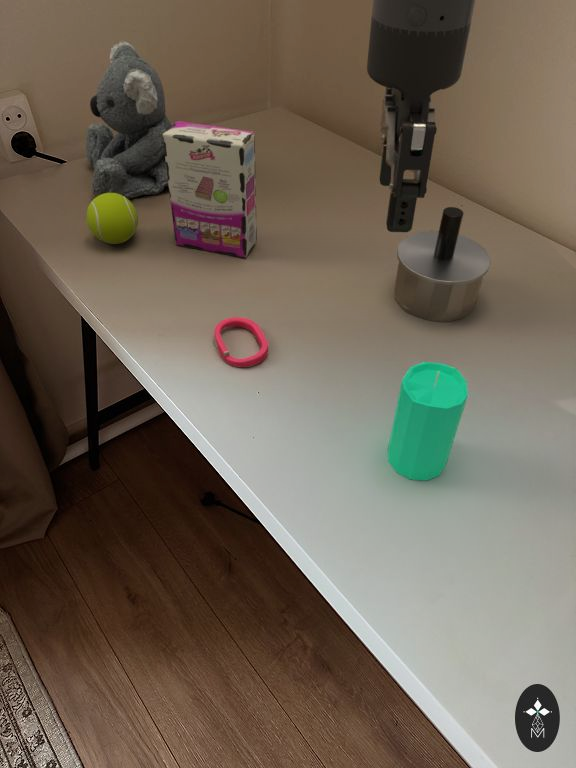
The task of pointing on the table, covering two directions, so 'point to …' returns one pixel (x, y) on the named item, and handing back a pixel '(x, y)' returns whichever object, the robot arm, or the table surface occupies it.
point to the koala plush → (128, 128)
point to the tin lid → (444, 253)
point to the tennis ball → (112, 218)
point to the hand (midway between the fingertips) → (394, 205)
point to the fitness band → (250, 326)
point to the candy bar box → (212, 187)
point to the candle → (426, 420)
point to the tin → (434, 297)
